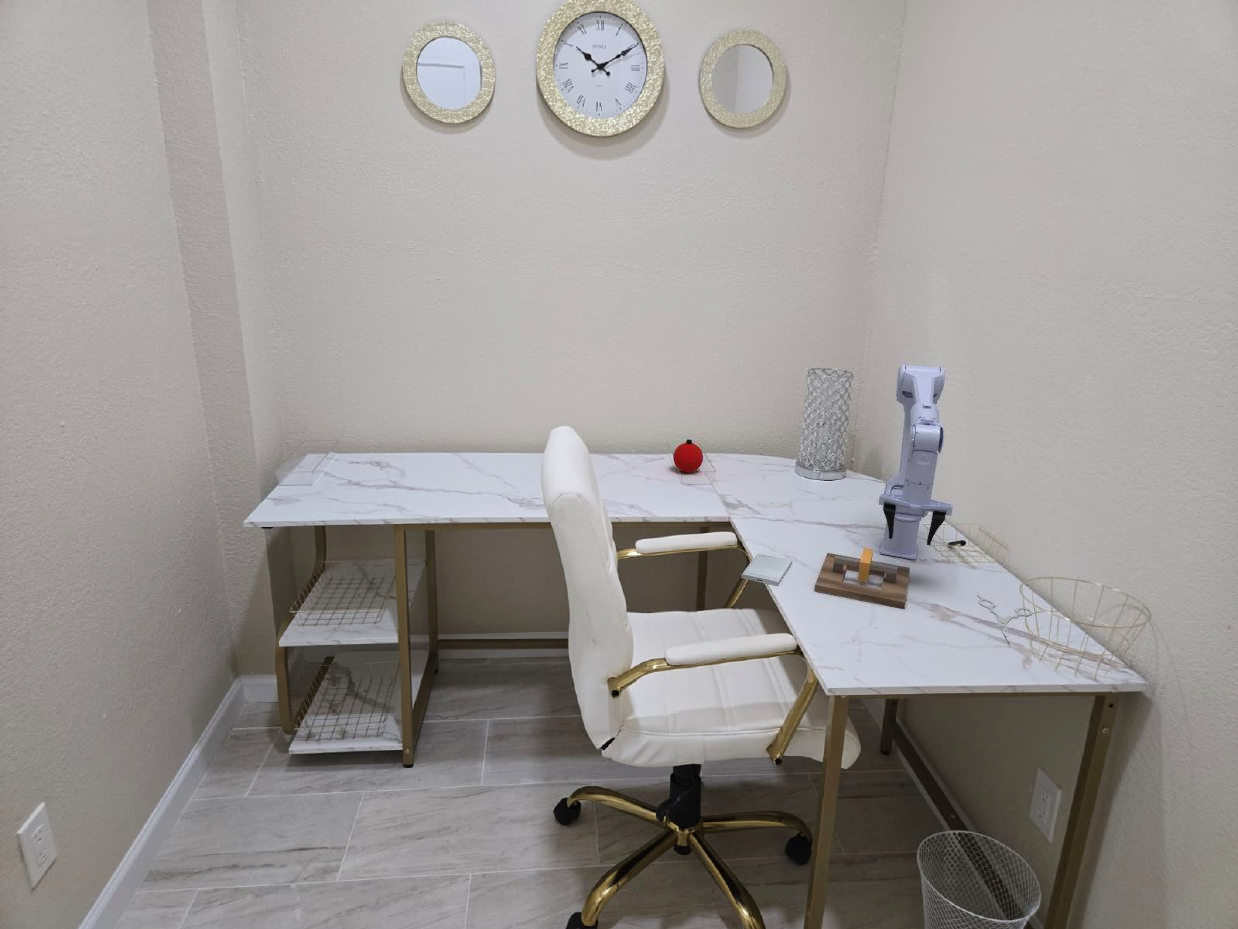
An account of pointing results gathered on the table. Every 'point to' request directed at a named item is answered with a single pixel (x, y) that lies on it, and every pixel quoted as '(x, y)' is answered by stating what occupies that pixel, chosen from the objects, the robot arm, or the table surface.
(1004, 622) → the scissors
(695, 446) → the ornament
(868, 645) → the table surface
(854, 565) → the hook bar
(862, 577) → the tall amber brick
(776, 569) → the hard drive
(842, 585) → the brown wooden frame
